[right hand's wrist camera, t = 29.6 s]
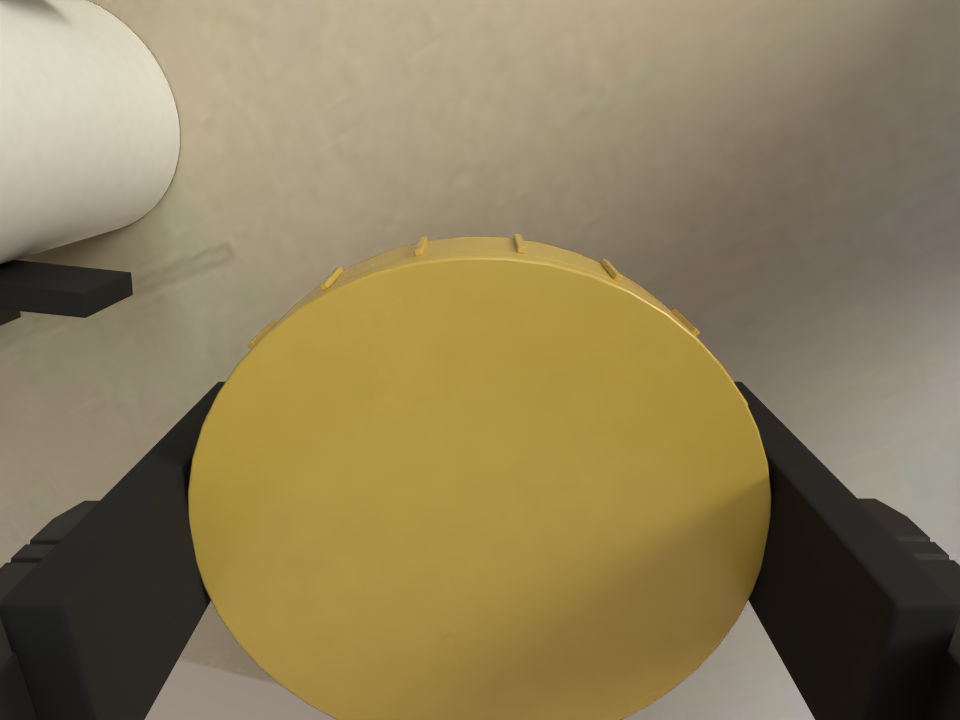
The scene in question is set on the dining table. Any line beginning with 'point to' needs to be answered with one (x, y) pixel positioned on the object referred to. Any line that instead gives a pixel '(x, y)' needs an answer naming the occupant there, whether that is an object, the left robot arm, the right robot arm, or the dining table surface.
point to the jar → (78, 125)
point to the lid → (479, 490)
